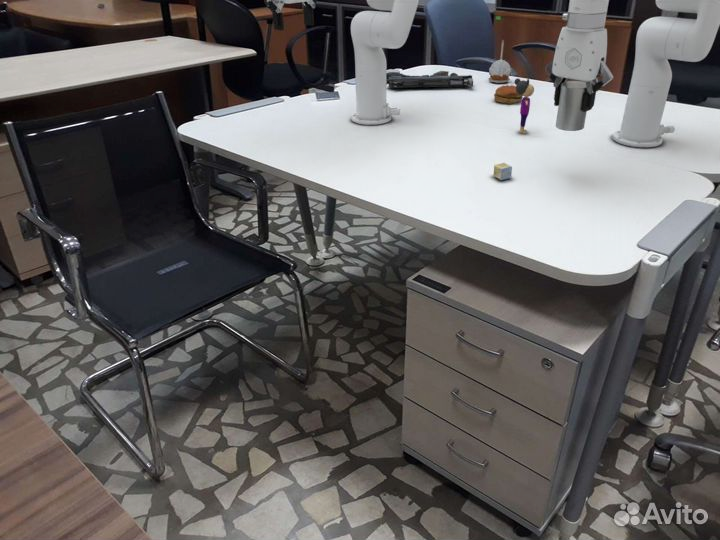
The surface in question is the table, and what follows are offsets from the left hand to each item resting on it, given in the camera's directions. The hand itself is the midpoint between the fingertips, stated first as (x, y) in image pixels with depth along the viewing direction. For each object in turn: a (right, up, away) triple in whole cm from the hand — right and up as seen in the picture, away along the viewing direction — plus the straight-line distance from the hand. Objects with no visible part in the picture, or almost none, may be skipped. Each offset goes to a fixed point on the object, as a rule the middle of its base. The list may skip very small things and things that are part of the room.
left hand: (294, 27), depth 143 cm
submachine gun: (+43, +11, +77) cm, 88 cm away
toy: (+63, -21, +23) cm, 70 cm away
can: (+64, -28, -13) cm, 72 cm away
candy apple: (+70, +12, +77) cm, 105 cm away
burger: (+68, -3, +53) cm, 86 cm away
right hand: (+64, -25, -16) cm, 71 cm away
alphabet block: (+51, -39, -6) cm, 64 cm away
